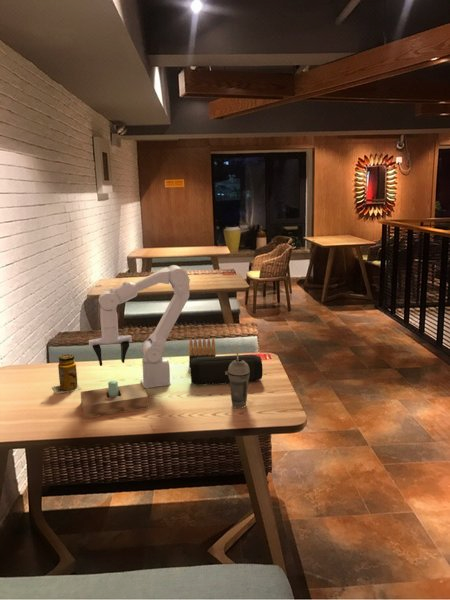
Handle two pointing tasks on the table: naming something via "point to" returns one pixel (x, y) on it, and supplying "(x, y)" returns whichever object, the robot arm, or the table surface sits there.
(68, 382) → the condiment
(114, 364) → the table surface
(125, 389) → the hole block
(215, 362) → the portable speaker
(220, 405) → the table surface
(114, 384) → the peg
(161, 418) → the table surface
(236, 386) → the beverage cup
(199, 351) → the ammunition clip
